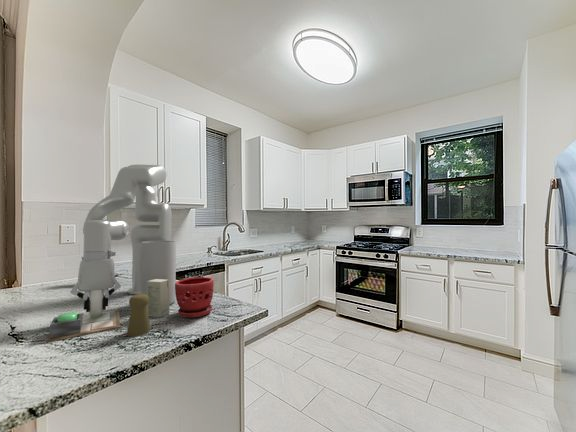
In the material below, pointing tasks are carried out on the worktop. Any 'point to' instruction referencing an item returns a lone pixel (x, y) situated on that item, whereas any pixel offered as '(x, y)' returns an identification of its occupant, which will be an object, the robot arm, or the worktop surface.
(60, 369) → the worktop surface
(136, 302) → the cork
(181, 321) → the worktop surface
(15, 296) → the worktop surface
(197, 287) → the plant pot
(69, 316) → the button
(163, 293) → the skincare box
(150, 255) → the cylinder vase
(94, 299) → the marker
